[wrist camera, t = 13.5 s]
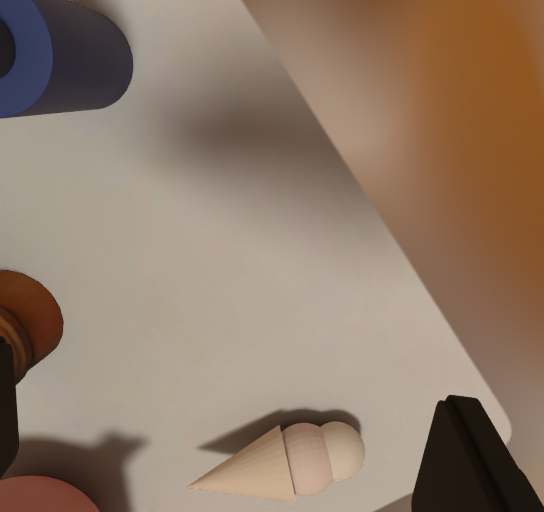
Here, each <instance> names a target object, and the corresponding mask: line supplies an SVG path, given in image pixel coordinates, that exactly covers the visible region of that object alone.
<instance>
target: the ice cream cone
mask: <svg viewBox="0 0 544 512" xmlns="http://www.w3.org/2000/svg"><path fill="white" fill-rule="evenodd" d="M364 457H365V448H364V443H363V441H362V439H361V437H360V435H359V434H358V432H357V431H356V430H355V429H354V428H352V427H351V426H349V425H347V424H345V423H342V422H329V423H326V424H324V425H322V426H321V427H319V426H317V425H314V424H310V423H297V424H294V425H291V426H289V427H288V428H286V429H285V430H283V431H282V432H281V430H280V425H278V426H276V427H275V428H273V429H272V430H270V431H269V432H267V433H266V434H264V435H263V436H261V437H260V438H258V439H257V440H255V441H254V442H253V443H251V444H250V445H248V446H247V447H245V448H244V449H242V450H241V451H239V452H238V453H236V454H235V455H233V456H232V457H230V458H229V459H227V460H226V461H224V462H223V463H221V464H220V465H218V466H217V467H215V468H214V469H213V470H211V471H210V472H208V473H207V474H205V475H204V476H202V477H201V478H199V479H198V480H196V481H195V482H193V483H192V484H190V485H189V486H187V488H194V489H201V490H208V491H215V492H222V493H229V494H236V495H243V496H250V497H257V498H264V499H271V500H278V501H285V502H292V503H296V499H295V494H296V495H299V496H311V495H315V494H318V493H320V492H322V491H323V490H325V489H326V488H327V487H328V486H329V485H330V484H331V483H332V481H343V480H346V479H349V478H351V477H353V476H354V475H355V474H356V473H357V472H358V471H359V470H360V468H361V467H362V464H363V462H364Z"/></svg>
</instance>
